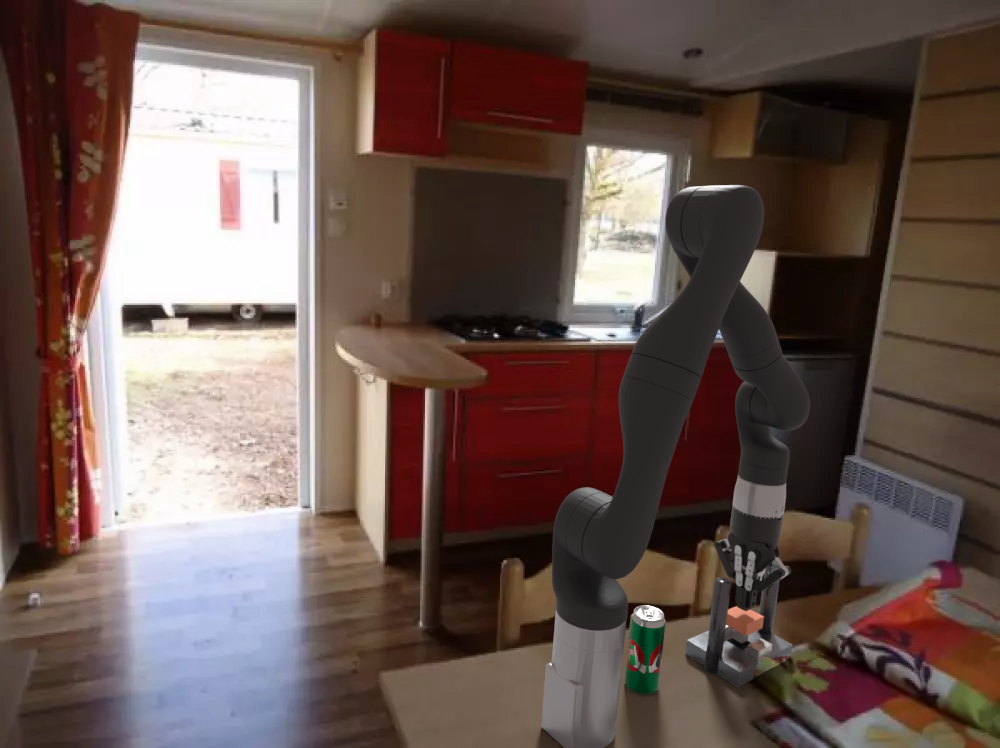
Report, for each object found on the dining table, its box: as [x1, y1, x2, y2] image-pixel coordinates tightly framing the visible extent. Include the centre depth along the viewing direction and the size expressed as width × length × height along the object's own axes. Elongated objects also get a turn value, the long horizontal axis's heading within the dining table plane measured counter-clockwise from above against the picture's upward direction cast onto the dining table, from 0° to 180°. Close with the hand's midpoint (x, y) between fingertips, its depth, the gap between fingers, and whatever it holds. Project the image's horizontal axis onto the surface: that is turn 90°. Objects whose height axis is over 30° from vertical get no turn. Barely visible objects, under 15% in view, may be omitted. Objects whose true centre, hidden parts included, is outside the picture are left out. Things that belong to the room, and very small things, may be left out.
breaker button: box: [726, 605, 764, 643], centre depth 114 cm, size 4×4×4 cm
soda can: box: [624, 604, 667, 696], centre depth 105 cm, size 5×5×12 cm
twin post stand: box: [685, 560, 794, 688], centre depth 114 cm, size 16×10×15 cm, turn 126°
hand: (744, 608), depth 114 cm, fingers closed
